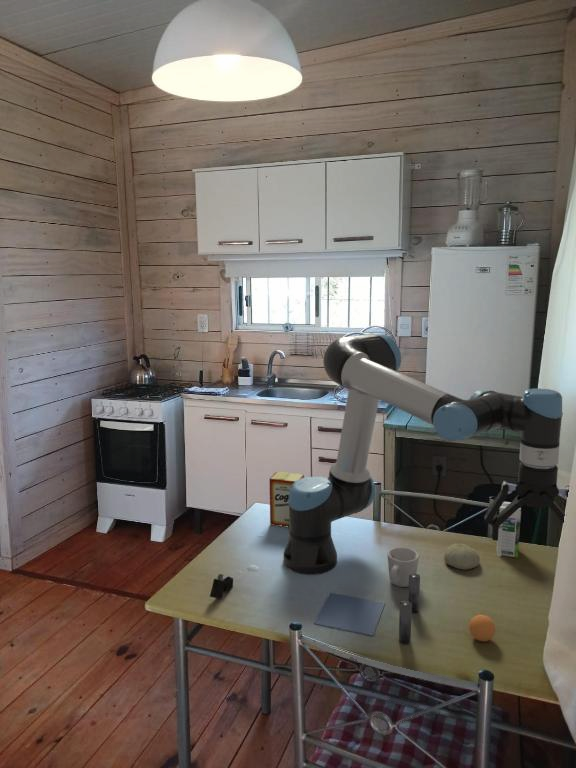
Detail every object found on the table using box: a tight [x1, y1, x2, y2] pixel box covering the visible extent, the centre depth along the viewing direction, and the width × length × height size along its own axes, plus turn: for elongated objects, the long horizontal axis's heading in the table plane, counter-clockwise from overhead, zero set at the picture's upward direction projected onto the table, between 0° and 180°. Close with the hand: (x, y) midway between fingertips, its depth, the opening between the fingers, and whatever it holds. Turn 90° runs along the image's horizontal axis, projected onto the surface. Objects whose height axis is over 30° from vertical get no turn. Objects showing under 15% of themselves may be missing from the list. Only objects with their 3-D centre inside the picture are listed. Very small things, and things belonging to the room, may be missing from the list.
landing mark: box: [313, 591, 386, 637], centre depth 144 cm, size 14×14×1 cm
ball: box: [468, 614, 496, 642], centre depth 133 cm, size 6×6×6 cm
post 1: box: [398, 600, 413, 645], centre depth 133 cm, size 3×3×9 cm
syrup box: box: [498, 501, 522, 559], centre depth 172 cm, size 6×6×14 cm
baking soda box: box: [269, 471, 305, 528], centre depth 193 cm, size 10×6×16 cm
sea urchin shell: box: [443, 543, 480, 571], centre depth 167 cm, size 9×8×8 cm
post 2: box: [407, 573, 421, 614], centre depth 144 cm, size 3×3×9 cm
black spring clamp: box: [209, 573, 234, 600], centre depth 153 cm, size 9×2×6 cm
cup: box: [387, 546, 420, 588], centre depth 156 cm, size 11×8×8 cm
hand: (532, 557), depth 130 cm, fingers open, 13 cm apart
